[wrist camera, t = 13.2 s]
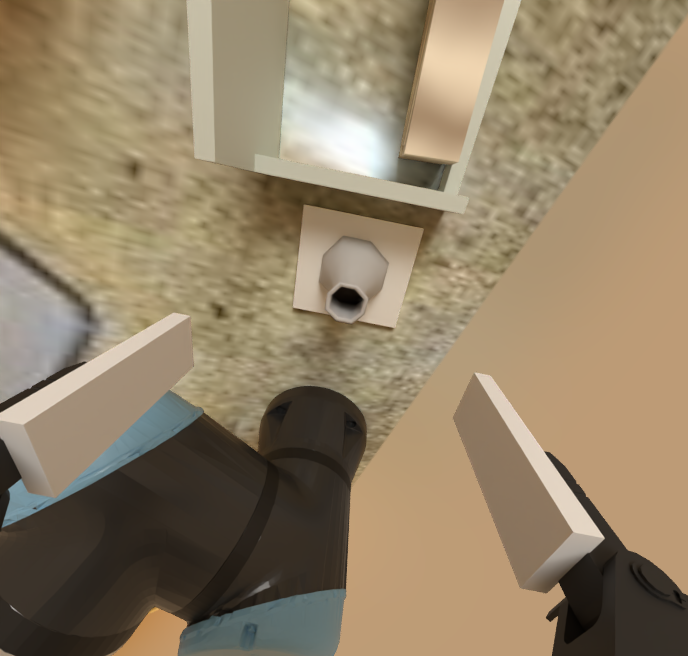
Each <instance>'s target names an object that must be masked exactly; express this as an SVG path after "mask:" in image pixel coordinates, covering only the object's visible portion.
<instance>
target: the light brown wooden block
mask: <svg viewBox="0 0 688 656" xmlns="http://www.w3.org/2000/svg"><path fill="white" fill-rule="evenodd" d="M503 3H504V0H430V1H429V6H428V11H427V16H426V21H425V26H424V31H423V36H422V41H421V46H420V51H419V56H418V61H417V66H416V71H415V76H414V81H413V86H412V91H411V96H410V101H409V106H408V111H407V116H406V121H405V126H404V131H403V136H402V141H401V146H400V152H399V157H398V158H403V159H409V160H415V161H421V162H427V163H434V164H440V165H442V164H447V165H453V164H455V163H457V162H459V159H460V155H461V152H462V148H463V145H464V141H465V138H466V134H467V130H468V127H469V123H470V120H471V116H472V113H473V109H474V106H475V102H476V99H477V95H478V92H479V88H480V85H481V81H482V78H483V74H484V70H485V67H486V63H487V60H488V56H489V53H490V49H491V46H492V42H493V39H494V35H495V32H496V28H497V25H498V21H499V18H500V14H501V10H502V7H503Z"/></svg>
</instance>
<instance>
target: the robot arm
mask: <svg viewBox="0 0 688 656" xmlns="http://www.w3.org/2000/svg"><path fill="white" fill-rule="evenodd" d="M193 367H194V361H193V346H192V332H191V317H190V316H188V315H183V314H178V313H172V314H171V315H169V316H167V317H165V318H164V319H162V320H160V321H158V322H157V323H155V324H153V325H151V326H150V327H148V328H146V329H145V330H143V331H141V332H139V333H138V334H136V335H134V336H132V337H131V338H129V339H127V340H126V341H124V342H122V343H120V344H119V345H117V346H115V347H113V348H112V349H110V350H108V351H107V352H105V353H103V354H101V355H100V356H98V357H96V358H94V359H93V360H91V361H89V362H82V363H79V364H76V365H73V366H70V367H67V368H64V369H62V370H61V371H59V372H57V373H55V374H53V375H52V376H50V377H48V378H47V379H46V380H42V381H41V382H39V383H37V384H35V385H33V386H32V388H31V389H26V390H24V391H23V392H21V393H19V394H17V395H15V396H14V397H12V398H10V399H8V400H6V401H5V402H3V403H1V404H0V656H112V655H113V654H114V653H116V652H117V651H118V650H119V649H120V648H121V647H122V646H123V645H124V644H125V643H126V642H127V640H128V639H129V638H130V637H131V635H132V634H133V633H134V631H135V630H136V629H137V627H138V626H139V624H140V623H141V622H142V620H143V619H144V618H145V616H146V615H147V614H148V612H149V611H150V610H151V609H152V608H154V607H157V608H159V609H161V610H164V611H166V612H168V613H171V614H173V615H175V616H177V617H179V618H181V619H183V620H185V621H187V624H188V625H187V628H185V629H184V630H183V632H182V634H181V636H180V645H179V649H178V656H334V654H335V652H336V650H337V647H338V644H339V640H340V631H341V621H342V613H343V604H344V600H345V598H346V576H347V575H346V574H347V554H348V533H349V511H350V492H351V482H352V480H353V478H354V475H355V473H356V470H357V468H358V466H359V463H360V461H361V459H362V456H363V454H364V451H365V448H366V437H367V428H366V422H365V419H364V417H363V415H362V413H361V411H360V410H359V409H358V407H357V406H356V405H355V404H354V403H353V402H352V401H350V400H349V399H348V398H346V397H345V396H343V395H341V394H340V393H337V392H335V391H333V390H330V389H326V388H322V387H314V386H304V387H297V388H293V389H289V390H287V391H284V392H283V393H281V394H279V395H278V396H276V397H275V398H274V399H273V400H272V401H271V403H270V404H269V406H268V407H267V409H266V411H265V413H264V416H263V418H262V420H261V424H260V430H259V446H258V452H256V451H255V450H254V449H252V448H251V447H250V446H248V445H247V444H246V443H244V442H243V441H242V440H240V439H239V438H238V437H236V436H235V435H233V434H232V433H231V432H229V431H228V430H227V429H225V428H224V427H223V426H221V425H220V424H219V423H217V422H216V421H214V420H213V419H212V418H210V417H209V416H208V415H206V414H205V413H204V410H203V409H202V408H201V407H195V406H194V405H192V404H190V403H189V402H187V401H186V400H184V399H183V398H181V397H180V396H178V395H177V394H175V393H174V392H172V391H171V390H169V389H171V388H172V387H173V386H174V385H175V384H176V383H177V382H178V381H179V380H180V379H181V378H182V377H183V376H184V375H185V374H186V373H187V372H188V371H189V370H190V369H192V368H193ZM453 419H454V422H455V424H456V426H457V429H458V432H459V434H460V437H461V439H462V442H463V444H464V447H465V449H466V452H467V455H468V457H469V459H470V462H471V465H472V467H473V470H474V472H475V475H476V477H477V480H478V482H479V485H480V488H481V490H482V493H483V495H484V497H485V500H486V503H487V505H488V508H489V510H490V513H491V515H492V518H493V521H494V523H495V526H496V528H497V531H498V533H499V536H500V538H501V541H502V543H503V546H504V548H505V551H506V553H507V556H508V559H509V561H510V564H511V566H512V569H513V571H514V574H515V576H516V579H517V581H518V584H519V587H520V588H522V589H528V590H533V591H538V592H543V593H548V591H550V590H551V589H552V588H553V587H554V586H555V585H556V584H557V583H558V582H559V584H560V586H561V588H562V590H563V592H564V594H565V596H566V597H565V598H564V599H563V600H562V601H561V602H560V603H559V604H557V605H556V606H555V607H554V608H553V609H552V610H551V611H549V613H548V615H547V616H546V618H547V619H548V620H549V621H550V622H551V621H552V620H553V619H554V618H555V617H557V616H558V622H557V627H556V634H555V640H554V647H553V652H552V656H688V595H686V594H683V593H682V592H681V590H680V589H679V588H678V586H677V585H676V584H675V583H674V582H673V581H672V580H671V579H670V578H669V577H668V576H667V575H666V574H665V573H664V572H663V571H662V570H661V569H659V568H658V567H657V566H656V565H654V564H653V563H652V562H650V561H649V560H647V559H646V558H644V557H642V556H640V555H639V554H637V553H634V552H631V551H628V550H627V549H626V548H625V546H624V545H623V544H622V542H621V541H620V540H619V538H618V537H617V535H616V534H615V533H614V532H613V530H612V529H611V527H610V526H609V525H608V523H607V522H606V521H605V519H604V518H603V517H602V516H601V514H600V513H599V511H598V510H597V509H596V507H595V506H594V505H593V503H592V502H591V501H590V499H589V498H588V497H586V494H585V493H584V491H583V490H582V488H581V487H580V486H579V485H578V484H576V480H575V479H574V478H573V476H572V475H571V474H570V472H569V471H568V470H567V468H566V467H565V466H564V465H563V464H562V463H561V462H560V461H559V460H558V459H556V458H555V457H554V456H553V455H552V454H551V453H550V452H544V451H543V450H542V448H541V447H540V446H539V444H538V443H537V441H536V440H535V438H534V437H533V435H532V434H531V433H530V431H529V430H528V428H527V427H526V426H525V424H524V423H523V421H522V420H521V418H520V417H519V415H518V414H517V413H516V411H515V410H514V408H513V407H512V405H511V404H510V403H509V401H508V400H507V398H506V397H505V396H504V394H503V393H502V391H501V390H500V388H499V387H498V386H497V384H496V383H495V381H494V380H493V379H492V377H491V376H489V375H484V374H479V373H474V374H473V376H472V378H471V380H470V382H469V384H468V387H467V389H466V391H465V393H464V395H463V397H462V399H461V401H460V404H459V406H458V408H457V410H456V412H455V414H454V416H453Z"/></svg>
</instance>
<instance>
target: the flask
mask: <svg viewBox="0 0 688 656" xmlns="http://www.w3.org/2000/svg"><path fill="white" fill-rule="evenodd" d="M388 265H389V262H388V261H387V260H386V259H385V258H384V256H383V255H382V254H381V253H380V251H379V250H378V249H377V248H376V247H375V245H374V244H373V243H372V242H371V241H367V240H362V239H357V238H353V237H348V236H342V237H341V238H340V239H339V240H338V241H337V242H336V243H335V244H334V245H333V246H332V247H331V248H330V249H328V250H327V251H326V252H325V253H324V254H323V258H322V264H321V271H320V277H319V282H320V283H321V284H322V285H323V286H324V287H325V288H326V289H327V290H328V292H327V297H326V303H325V310H326V311H327V312H328V313H329V314H330V316H331V317H332V318H333V319H334V320H335V321H338V322H343V323H348V324H353V323H354V322H356V321H357V320H358V319H360V318H361V317H362V316H363V315H365V311H366V307H367V303H368V300H369V299H371V298H372V297H373V296H374V295H376V294H377V293H378V292H379V291H381V290H382V288H383V284H384V280H385V276H386V273H387V269H388Z"/></svg>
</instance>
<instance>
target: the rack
mask: <svg viewBox="0 0 688 656" xmlns="http://www.w3.org/2000/svg"><path fill="white" fill-rule="evenodd" d="M520 3H521V0H504V3H503V7H502V10H501V14H500V18H499V21H498V25H497V28H496V32H495V35H494V39H493V42H492V46H491V49H490V53H489V56H488V60H487V63H486V67H485V70H484V74H483V78H482V81H481V85H480V88H479V92H478V95H477V99H476V102H475V106H474V109H473V113H472V116H471V120H470V123H469V127H468V130H467V134H466V138H465V141H464V145H463V148H462V152H461V155H460V159H459V162H457V163H455V164H453V165H447V164H446V166H445V169H444V172H443V176H442V179H441V182H440V186H439V189H438V191H436V190H431V189H426V188H421V187H416V186H411V185H406V184H401V183H397V182H392V181H387V180H382V179H377V178H372V177H367V176H362V175H357V174H352V173H347V172H342V171H338V170H333V169H328V168H323V167H318V166H313V165H308V164H303V163H298V162H293V161H288V160H283V159H279V150H280V135H281V120H282V105H283V90H284V74H285V59H286V44H287V29H288V14H289V0H187V17H188V37H189V56H190V76H191V96H192V116H193V136H194V156H195V158H196V159H200V160H204V161H209V162H213V163H217V164H222V165H226V166H230V167H235V168H239V169H243V170H248V171H252V172H256V173H260V174H265V175H270V176H275V177H279V178H284V179H289V180H294V181H299V182H304V183H309V184H314V185H319V186H324V187H329V188H334V189H338V190H343V191H348V192H353V193H358V194H363V195H368V196H373V197H378V198H383V199H388V200H393V201H398V202H402V203H407V204H412V205H417V206H422V207H427V208H432V209H437V210H442V211H447V212H453V213H460V214H464V212H465V209H466V207H467V204H468V201H469V198H470V197H465V196H460V195H457V194H458V191H459V188H460V185H461V182H462V179H463V176H464V173H465V170H466V167H467V164H468V161H469V158H470V155H471V152H472V149H473V146H474V143H475V140H476V137H477V133H478V130H479V127H480V124H481V121H482V118H483V115H484V112H485V109H486V106H487V103H488V100H489V97H490V94H491V91H492V88H493V85H494V82H495V79H496V76H497V73H498V70H499V67H500V63H501V60H502V57H503V54H504V51H505V48H506V45H507V42H508V39H509V36H510V33H511V30H512V27H513V24H514V21H515V18H516V15H517V12H518V9H519V6H520Z"/></svg>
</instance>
